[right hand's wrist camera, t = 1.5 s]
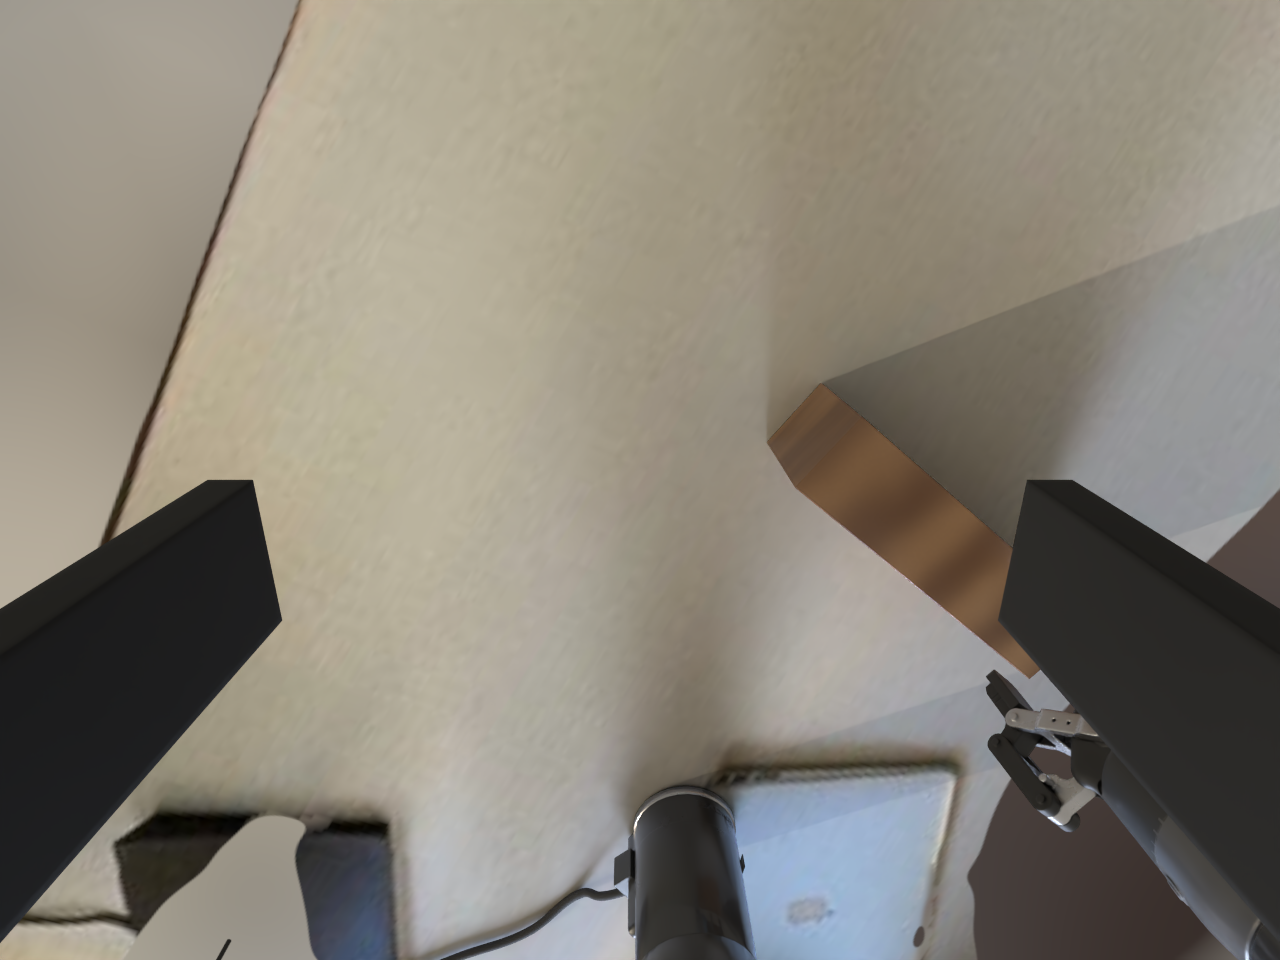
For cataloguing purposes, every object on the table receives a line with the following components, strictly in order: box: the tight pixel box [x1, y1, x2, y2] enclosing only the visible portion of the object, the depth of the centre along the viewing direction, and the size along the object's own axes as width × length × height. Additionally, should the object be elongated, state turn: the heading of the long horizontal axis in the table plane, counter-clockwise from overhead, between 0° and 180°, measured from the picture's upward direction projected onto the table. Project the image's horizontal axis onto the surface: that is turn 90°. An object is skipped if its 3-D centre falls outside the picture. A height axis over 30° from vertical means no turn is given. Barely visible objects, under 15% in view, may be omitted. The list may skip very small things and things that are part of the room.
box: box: [767, 383, 1040, 679], centre depth 51 cm, size 23×6×10 cm, turn 51°
